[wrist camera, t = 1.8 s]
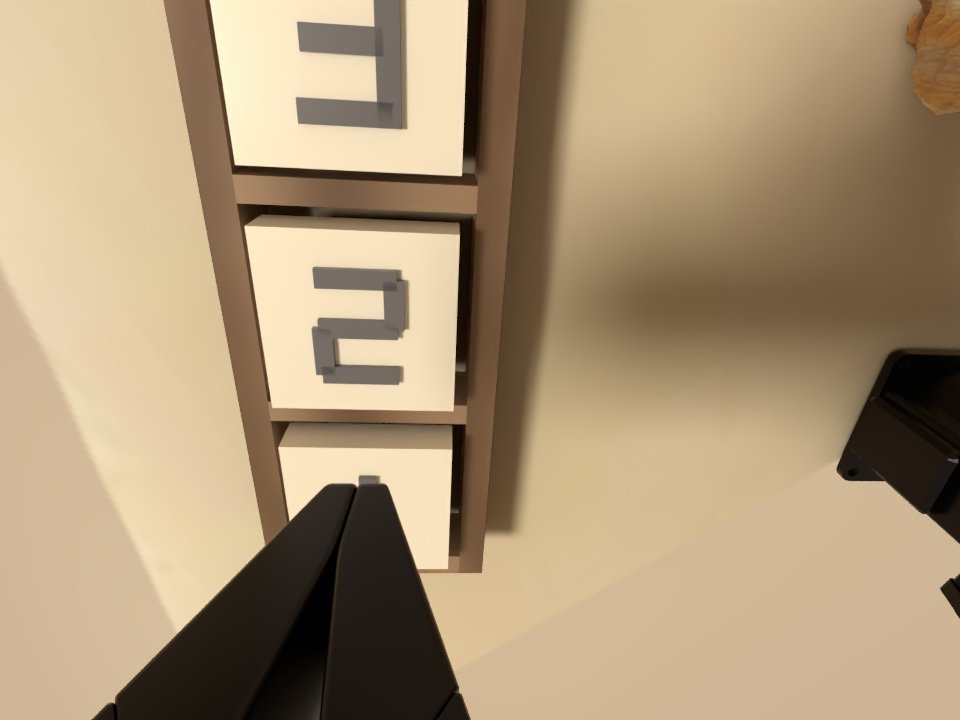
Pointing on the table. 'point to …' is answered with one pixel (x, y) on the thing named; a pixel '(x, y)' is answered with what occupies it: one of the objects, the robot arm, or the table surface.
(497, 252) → the tile rack
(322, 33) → the tile
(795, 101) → the table surface
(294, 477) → the tile
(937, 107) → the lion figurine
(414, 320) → the tile
